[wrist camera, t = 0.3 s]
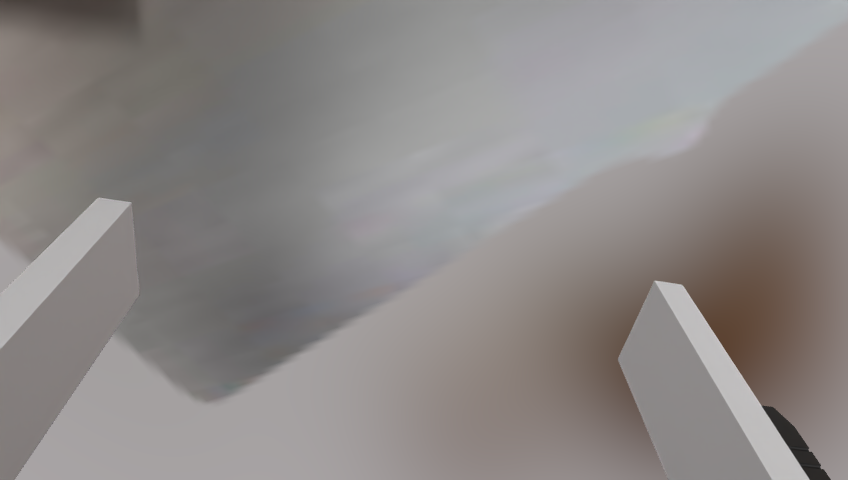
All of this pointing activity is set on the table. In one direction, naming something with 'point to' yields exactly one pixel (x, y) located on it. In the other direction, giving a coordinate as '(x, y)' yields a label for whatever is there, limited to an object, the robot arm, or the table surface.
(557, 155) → the table surface
